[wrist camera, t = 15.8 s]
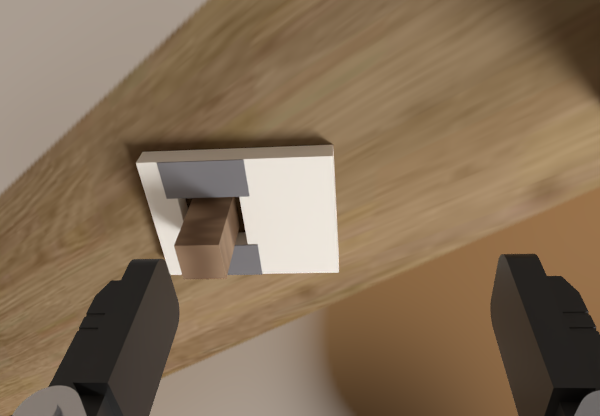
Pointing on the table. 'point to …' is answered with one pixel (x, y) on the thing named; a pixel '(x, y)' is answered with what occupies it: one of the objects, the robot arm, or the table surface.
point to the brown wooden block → (208, 238)
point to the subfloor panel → (252, 203)
